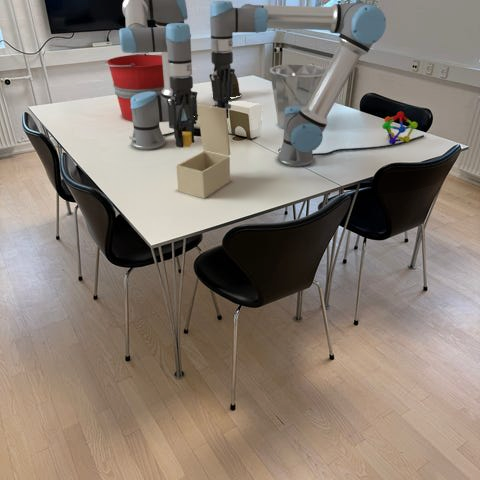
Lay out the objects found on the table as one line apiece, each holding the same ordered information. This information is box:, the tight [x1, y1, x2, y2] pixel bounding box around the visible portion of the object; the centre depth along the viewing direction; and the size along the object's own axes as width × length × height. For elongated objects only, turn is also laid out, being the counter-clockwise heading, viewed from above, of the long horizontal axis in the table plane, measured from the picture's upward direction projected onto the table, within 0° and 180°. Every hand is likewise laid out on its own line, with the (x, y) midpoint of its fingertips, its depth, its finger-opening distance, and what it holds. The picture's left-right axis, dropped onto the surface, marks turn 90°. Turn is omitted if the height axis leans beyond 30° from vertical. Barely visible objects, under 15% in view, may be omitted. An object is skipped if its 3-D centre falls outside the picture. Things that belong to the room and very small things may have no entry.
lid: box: [197, 101, 232, 157], centre depth 166 cm, size 18×12×9 cm
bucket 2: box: [269, 63, 327, 129], centre depth 226 cm, size 30×30×28 cm
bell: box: [229, 72, 242, 97], centre depth 278 cm, size 19×26×20 cm
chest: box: [175, 150, 231, 199], centre depth 166 cm, size 17×12×10 cm
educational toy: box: [382, 110, 418, 145], centre depth 207 cm, size 16×13×15 cm
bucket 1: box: [103, 53, 164, 122], centre depth 240 cm, size 35×35×30 cm
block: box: [182, 131, 193, 148], centre depth 156 cm, size 4×4×4 cm
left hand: (185, 144), depth 157 cm, fingers closed on block, 5 cm apart
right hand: (223, 118), depth 166 cm, fingers closed on lid, 2 cm apart
